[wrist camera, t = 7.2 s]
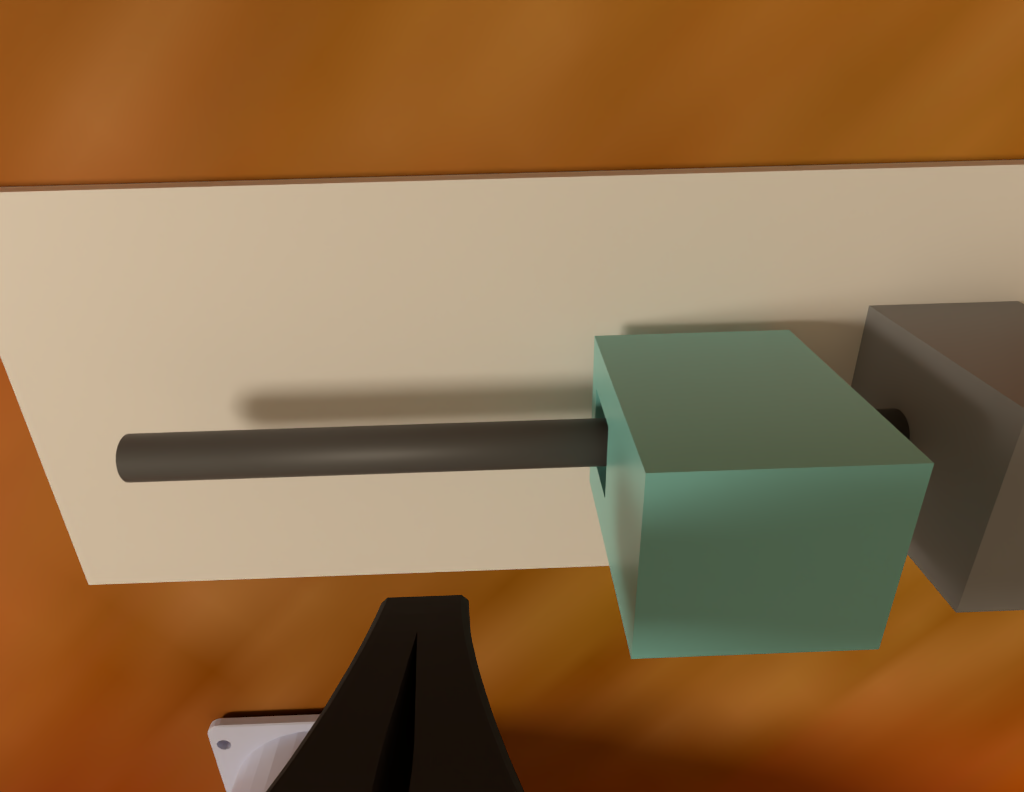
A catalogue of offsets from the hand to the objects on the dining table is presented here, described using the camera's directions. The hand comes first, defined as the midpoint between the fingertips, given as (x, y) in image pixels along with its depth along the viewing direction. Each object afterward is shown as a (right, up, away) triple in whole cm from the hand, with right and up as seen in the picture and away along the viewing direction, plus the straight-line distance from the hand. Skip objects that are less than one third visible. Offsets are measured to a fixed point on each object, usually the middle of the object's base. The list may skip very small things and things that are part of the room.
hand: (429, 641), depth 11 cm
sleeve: (+6, +4, +7) cm, 10 cm away
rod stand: (+2, +4, +8) cm, 10 cm away
